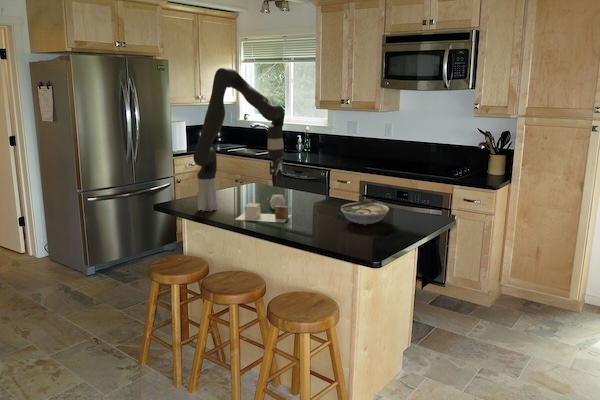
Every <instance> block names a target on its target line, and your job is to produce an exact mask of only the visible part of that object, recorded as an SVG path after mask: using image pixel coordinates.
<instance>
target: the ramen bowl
mask: <svg viewBox="0 0 600 400" xmlns="http://www.w3.org/2000/svg"><path fill="white" fill-rule="evenodd" d="M377 202H378V200H376V199H370V200H366V201H362V202H352V203H351V202H349V203H346V204H343V205H341V206H340V207H335V210H338V209H340V211H341V212H342V215H344V217H345V218H346V219H348V220H349V221H350V222H353V223H355V224H357V223H358V224H357V225H359V224H363V225H362V226H368V225H367V224H370V225H372V224H375V223H378V222H380V221H381V220H382V219H384V217H386V215H387V214H388V213H389V210H390V208H389V207H388V206H386V205H385V204H382V203H377Z"/></svg>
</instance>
